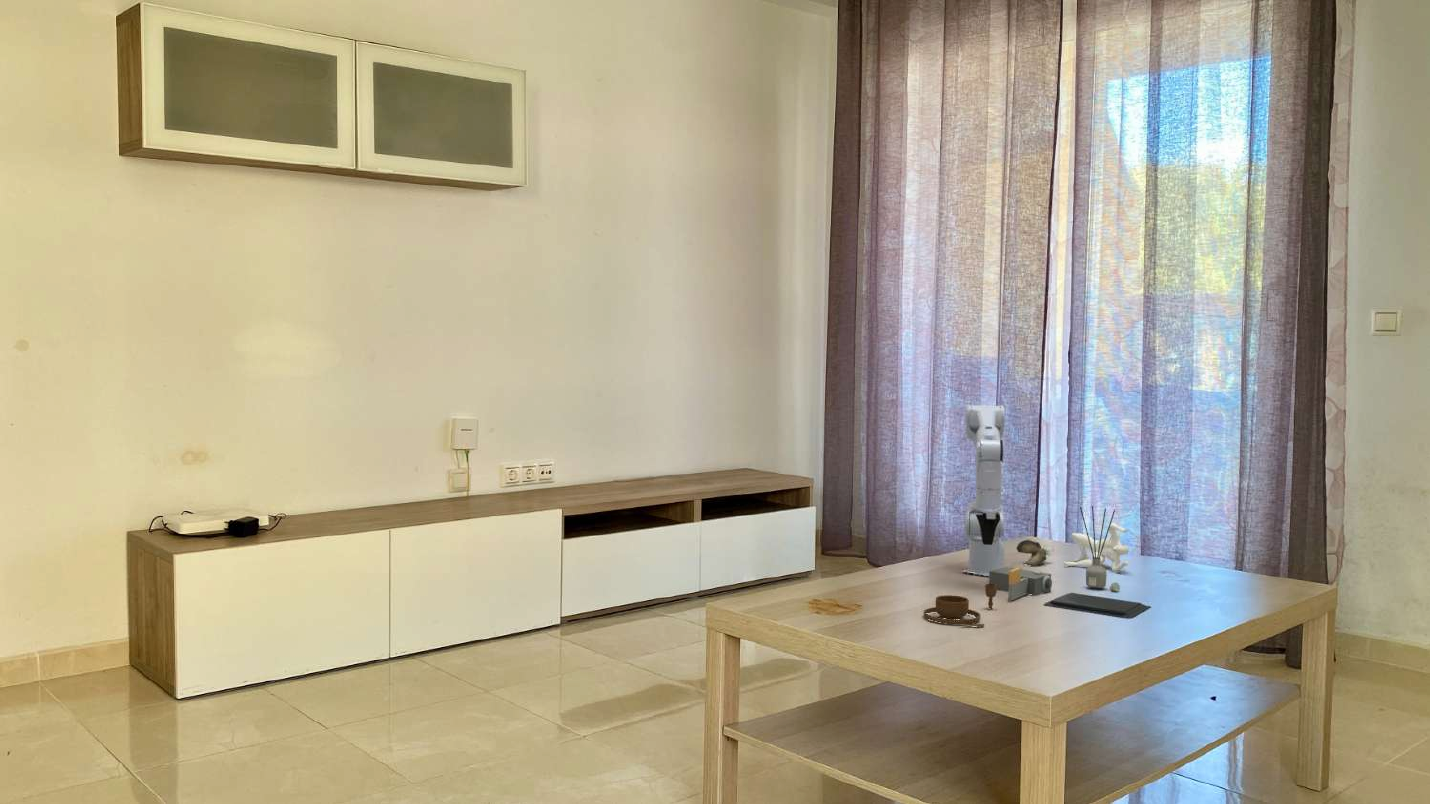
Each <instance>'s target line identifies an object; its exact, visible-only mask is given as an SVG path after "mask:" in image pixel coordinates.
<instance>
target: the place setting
mask: <svg viewBox="0 0 1430 804" xmlns="http://www.w3.org/2000/svg"><path fill="white" fill-rule="evenodd" d="M984 587H985V588H984V589H985V593H984V594H985V596H986V597H987V598H988V602H987V605H988V608H990V609H989V610H994V608H993V605H994V602H993V598H994V597H996V595H997V590H998V589H997V585H996V584H989V583H985V585H984ZM969 602H970V601H969V598H967V597H965V596H961V595H960V596H958V595H947V594H946V595H938V596H936V597H935V606H934V607H928V608H926V609H924V610H923V616H925V617H926V618H927V619H930V620H933V621H937V622H941V623H947V624H970V625H964V627H967V628H970V627H972V626H977V627H973V628H972V629H981V628H984V626H985V624H984V623H978V622H980V619H981V613H979V612H978V611H975V610H972V609H969V607H970V606H969V604H970V603H969ZM931 612H937V613H938V615H939V616H941V618H940V617H936V616H933V615H928V614H926V613H931ZM967 613H968V614H971V615H974V616H975V617H976V618H973V617H972V618H967V619H962V618H964V617H966V616H967V615H966V614H967ZM925 617H924V618H925ZM942 617H943V618H946V619H943V618H942ZM926 618H925V619H926ZM927 619H926V620H927ZM954 619H955V620H954ZM956 619H961V620H956ZM976 622H977V623H976ZM973 623H975V624H973ZM980 627H981V628H980Z"/></svg>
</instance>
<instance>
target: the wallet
mask: <svg viewBox="0 0 1430 804" xmlns="http://www.w3.org/2000/svg"><path fill="white" fill-rule="evenodd" d="M1043 606H1044V607H1049V608H1056V609H1060V610H1061V609H1063V610H1068V611H1069V610H1070V611H1076V612H1082V613H1089V614H1093V613H1094V615H1101V616H1106V617H1107V616H1108V617H1113V618H1119V619H1127V620H1131V619H1134V618H1136V617H1138V616H1139V615H1141V614H1142V613H1144V612H1146V611H1148V610H1149V609H1151V608H1152V606H1151V605H1150V606H1149V605H1146V604H1143V603H1142V602H1138V601H1130V600H1123V599H1118V598H1117V599H1116V598H1109V597H1104V596H1103V597H1102V596H1096V595H1090V594H1084V593H1083V594H1082V593H1076V592H1069V593H1066V594H1063V595H1061V596H1059V597H1056V598H1053V599H1051V600H1050V601H1046V602H1045V603H1043Z"/></svg>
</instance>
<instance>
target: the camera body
mask: <svg viewBox="0 0 1430 804" xmlns="http://www.w3.org/2000/svg"><path fill="white" fill-rule="evenodd" d="M1016 568H1017V567H1015V568H1014V567H1009V566H1004V567H1003V568H1000V569H996V570H992V571H989V577H988V578H989V579H988V584H996V585H997V590H1000V589H1001V591H1006V592H1009V571H1011V570H1013V569H1016ZM1022 578H1028V594H1032V595H1031V596H1034V595H1035V596H1038V595H1041V594H1040V593H1042V594H1045V593H1048V592H1050V591H1051V590H1052V589H1051V588H1052V584H1053V581H1052V573H1046V572H1042V571H1040V570H1027V569H1022V568H1021V579H1022ZM1028 594H1027V595H1028ZM1037 594H1038V595H1037Z"/></svg>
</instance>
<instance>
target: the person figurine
mask: <svg viewBox="0 0 1430 804" xmlns="http://www.w3.org/2000/svg"><path fill="white" fill-rule="evenodd" d="M1117 531H1120V532H1121V533H1124V534H1127V532H1128V529H1127V528H1124V527H1122V526H1119V525H1118V524H1116V523H1115V522H1111V525H1110V528H1109V531H1108V533H1109V534H1110V535H1111V536H1107V537H1106V540H1105V537H1104V538H1101V544H1100V550H1099V555H1100V552H1101V549H1102V546H1103V543H1104V540H1105V543H1104V546H1103V550H1102V553H1101V556H1100V558H1101V566H1102V565H1103V564H1104V563H1105V561H1106V559H1108V560H1110V561H1111V565H1110V569H1111V571H1112V573H1113V572H1117V573H1116V574H1118V573H1120V572H1121V571H1122V569H1124V568H1125V567H1127V566H1129V561H1128V560H1124V561H1123V562H1122V563H1121V559H1120V557H1121V556H1125V555H1128V554H1129V553H1130V549H1129V548H1130V547H1128V545H1125V544H1123V543H1121V541H1120V534H1119V533H1118V532H1117ZM1088 536H1089V535H1088ZM1088 536H1087V534H1084V533H1080V532H1079V533H1077V532H1073V533H1071V535H1070V537H1071V540H1073V541H1074V542H1075V543H1076V546H1077V547H1078V548H1079V550H1080V552H1081V555H1080V556H1079V557H1078V558H1076V559H1075V560H1077V561H1063V566H1064V568H1069V567H1068V566H1070V567H1072V566H1074V567H1084V568H1088V567H1090V566H1091V565H1092V561H1093V555H1094V557H1095V549H1094V537H1091V536H1089V539H1090V543H1091V547H1092V551H1093V555H1092V556H1091V557H1092V558H1091V559H1090V557H1089V556H1088V553H1087V550H1090V551H1091V548H1090V544H1089V540H1088ZM1099 543H1100V539H1099V540H1097V539H1095V546H1096V557H1097V555H1098V549H1099ZM1092 551H1091V552H1092ZM1098 558H1099V556H1098ZM1120 563H1121V564H1120Z"/></svg>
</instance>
